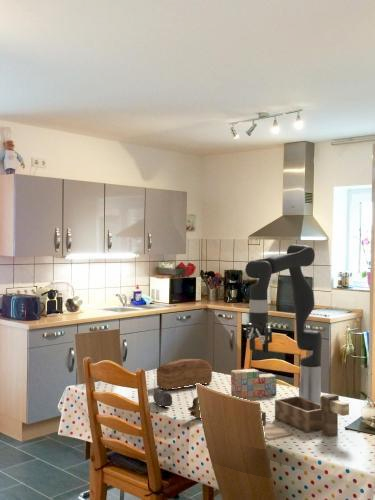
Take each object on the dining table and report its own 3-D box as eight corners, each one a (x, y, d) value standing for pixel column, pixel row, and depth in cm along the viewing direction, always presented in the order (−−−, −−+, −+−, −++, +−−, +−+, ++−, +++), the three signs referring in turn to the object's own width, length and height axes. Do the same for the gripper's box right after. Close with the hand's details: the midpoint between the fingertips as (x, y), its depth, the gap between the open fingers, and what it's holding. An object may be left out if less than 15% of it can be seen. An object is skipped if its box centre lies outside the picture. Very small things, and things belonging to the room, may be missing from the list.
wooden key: (320, 407, 214) (320, 397, 214) (326, 406, 216) (326, 396, 216) (342, 415, 204) (342, 404, 204) (348, 414, 205) (348, 403, 205)
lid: (238, 426, 224) (238, 411, 224) (262, 422, 229) (262, 407, 229) (268, 441, 206) (268, 424, 206) (294, 436, 212) (294, 420, 212)
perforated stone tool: (149, 401, 258) (149, 386, 258) (160, 400, 261) (160, 385, 261) (162, 410, 245) (162, 394, 245) (173, 408, 247) (173, 393, 247)
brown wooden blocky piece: (274, 419, 232) (274, 383, 232) (297, 415, 237) (297, 379, 237) (320, 438, 208) (320, 398, 207) (344, 433, 213) (344, 394, 213)
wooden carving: (209, 412, 242) (209, 389, 242) (218, 414, 239) (218, 390, 239) (185, 421, 229) (185, 396, 229) (194, 423, 226) (194, 398, 226)
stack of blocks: (271, 392, 276) (271, 367, 276) (276, 395, 270) (276, 369, 270) (230, 395, 270) (230, 369, 270) (235, 398, 264) (235, 372, 264)
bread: (152, 387, 285) (152, 361, 285) (202, 379, 302) (202, 355, 302) (165, 392, 275) (165, 365, 275) (215, 384, 292) (215, 358, 292)
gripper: (277, 312, 217) (277, 353, 217) (255, 308, 229) (255, 347, 229) (261, 313, 213) (261, 355, 213) (240, 309, 226) (240, 349, 226)
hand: (258, 351), depth 221 cm, fingers open, 8 cm apart
